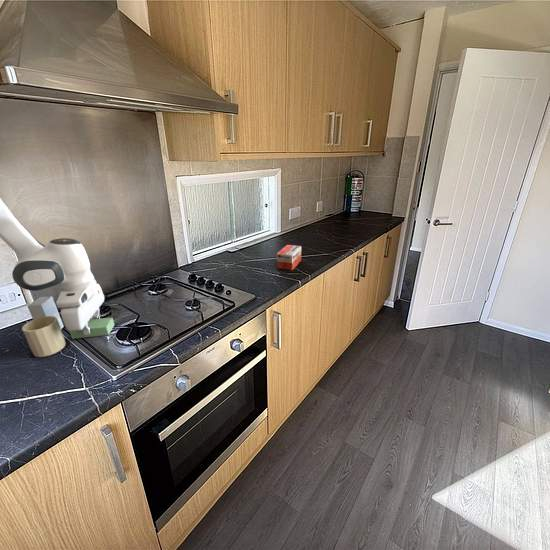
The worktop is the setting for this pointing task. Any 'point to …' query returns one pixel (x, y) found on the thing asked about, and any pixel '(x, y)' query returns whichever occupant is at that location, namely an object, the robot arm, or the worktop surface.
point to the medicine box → (289, 257)
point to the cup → (44, 336)
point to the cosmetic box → (44, 309)
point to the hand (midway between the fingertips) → (92, 327)
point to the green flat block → (95, 328)
